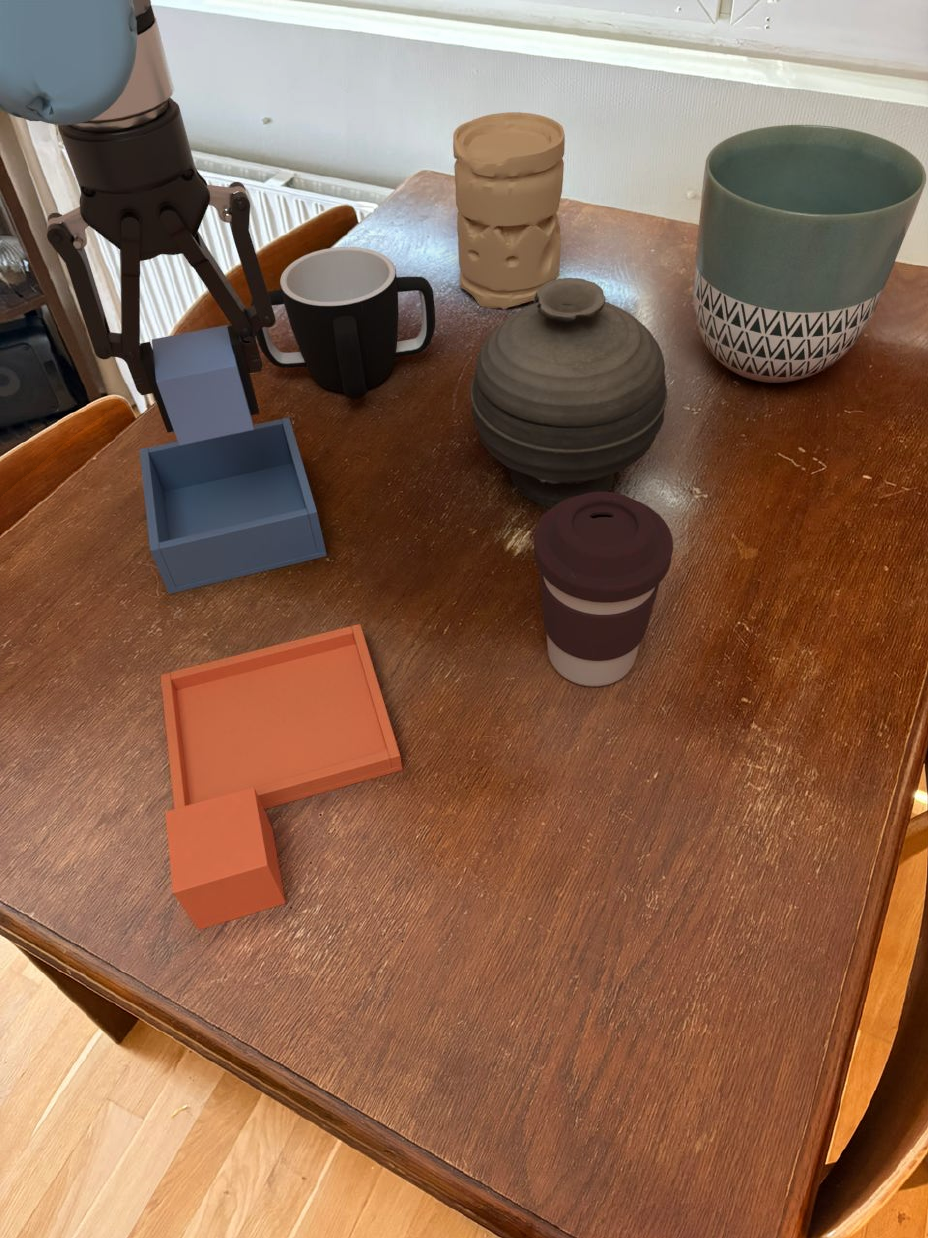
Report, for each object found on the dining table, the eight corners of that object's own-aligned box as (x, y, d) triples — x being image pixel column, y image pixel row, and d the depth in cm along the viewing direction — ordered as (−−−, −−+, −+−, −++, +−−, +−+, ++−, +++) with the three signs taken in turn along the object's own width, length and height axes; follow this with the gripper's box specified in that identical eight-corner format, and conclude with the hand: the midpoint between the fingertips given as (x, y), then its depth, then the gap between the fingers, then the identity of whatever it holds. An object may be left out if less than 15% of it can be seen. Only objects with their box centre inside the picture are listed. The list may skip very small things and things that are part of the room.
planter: (860, 429, 92) (933, 223, 76) (665, 406, 96) (695, 206, 80) (857, 326, 104) (920, 130, 88) (685, 309, 108) (714, 118, 92)
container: (513, 321, 108) (513, 167, 94) (439, 287, 114) (429, 138, 100) (579, 280, 114) (588, 129, 100) (505, 250, 120) (504, 103, 106)
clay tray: (183, 832, 65) (174, 819, 64) (167, 689, 74) (160, 674, 72) (403, 770, 68) (400, 755, 66) (363, 639, 77) (360, 623, 75)
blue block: (179, 445, 71) (156, 381, 67) (173, 402, 75) (151, 339, 70) (254, 429, 72) (236, 365, 67) (245, 388, 76) (227, 324, 71)
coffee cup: (620, 722, 70) (640, 592, 59) (509, 671, 74) (508, 541, 62) (670, 636, 75) (698, 503, 64) (565, 593, 79) (574, 460, 68)
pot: (541, 565, 80) (539, 361, 66) (443, 471, 92) (425, 280, 78) (696, 496, 86) (724, 294, 72) (586, 416, 98) (592, 229, 84)
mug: (452, 367, 102) (447, 268, 93) (348, 434, 95) (330, 333, 86) (357, 318, 110) (343, 222, 101) (254, 376, 103) (228, 278, 94)
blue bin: (169, 594, 81) (149, 550, 77) (156, 493, 90) (139, 449, 86) (327, 556, 83) (317, 511, 79) (299, 461, 93) (289, 416, 88)
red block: (198, 930, 60) (172, 893, 56) (189, 852, 64) (164, 811, 60) (285, 903, 61) (267, 865, 57) (272, 828, 65) (254, 786, 61)
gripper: (259, 64, 59) (318, 365, 77) (-39, 108, 57) (93, 411, 74) (276, 104, 55) (334, 415, 72) (-49, 155, 52) (94, 466, 69)
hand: (212, 412), depth 73 cm, fingers closed on blue block, 6 cm apart
